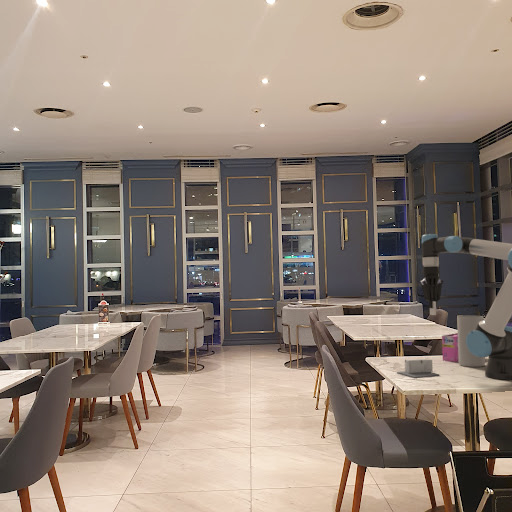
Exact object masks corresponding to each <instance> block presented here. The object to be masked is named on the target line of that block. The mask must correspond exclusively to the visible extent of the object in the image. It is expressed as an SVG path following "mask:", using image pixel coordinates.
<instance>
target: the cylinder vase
mask: <svg viewBox="0 0 512 512" xmlns="http://www.w3.org/2000/svg"><path fill="white" fill-rule="evenodd" d="M456 317H457V318H456V321H457V324H456V325H457V333H458V358H459V361H458V364H459V366H462V367H466V368H467V367H468V368H480V367H484V366H485V365H486V357H477V356H475V355H473V354H472V353H471V352H470V351H469V350H468V348H467V345H466V337H467V335H468V333H470V332H471V331H473V330H475V329H476V327H477V325H478V323H479V322H480V321H483V320H484V316H483V315H457V316H456Z"/></svg>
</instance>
